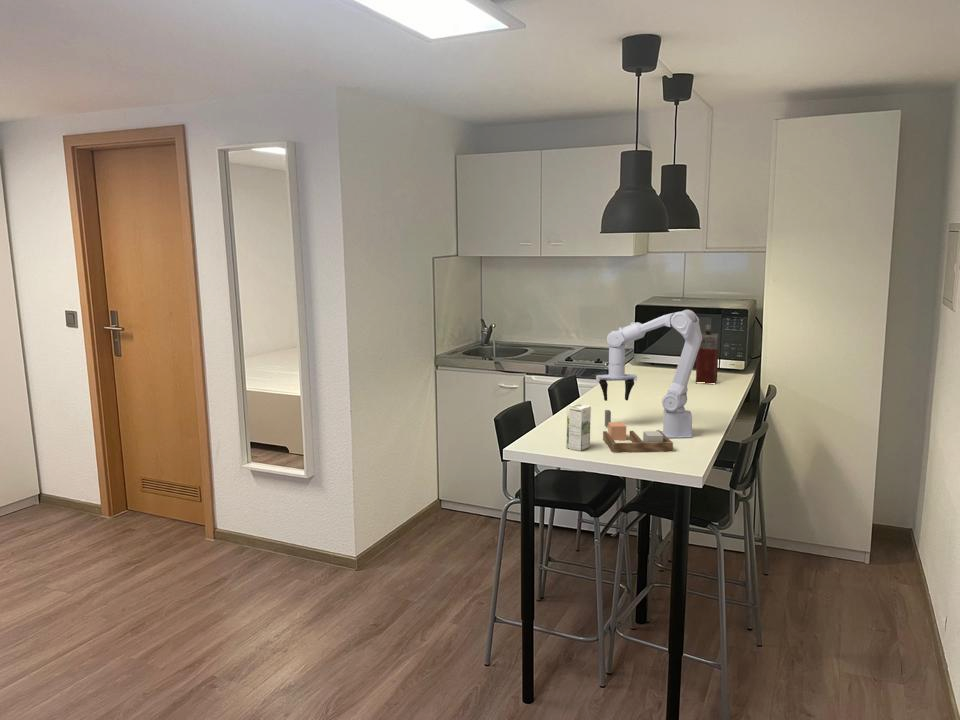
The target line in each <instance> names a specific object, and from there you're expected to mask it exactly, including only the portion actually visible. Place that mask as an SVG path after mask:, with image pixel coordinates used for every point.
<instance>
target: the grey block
mask: <svg viewBox="0 0 960 720" xmlns="http://www.w3.org/2000/svg"><path fill="white" fill-rule="evenodd" d="M642 433H643V434H642V435H643V436H642V438H643V439H642V441H643V442H663V435H662V434H661V433H660V432H659V431H656V430H649V431H648V430H644V431H643V432H642Z"/></svg>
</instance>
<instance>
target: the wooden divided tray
mask: <svg viewBox="0 0 960 720" xmlns="http://www.w3.org/2000/svg"><path fill="white" fill-rule="evenodd" d="M655 431H659V432H660V433H661V434H662V435H663V442H643V439H641V438H640V436H639V435H638V434H637V433H636V432H635V431H634V430H629V441H630V442H616V441H614V440H613V439H612V437H611V436H610V435H609V434H608V430H607V431H606V430H604V431H602V440H603V442H604V441H605V442H604V443H605V444H606V446H607V445H608V446H607V448H608V449H609V450H610V449H611V450H610V451H611V453H612V452H628V453H660V452H659V451H673V449H674V448H673V447H674V442H673V441H672V440H670V438H667V437H666V436H665V435H664V434H663V433H662V432H661V431H662V430H660V429H657V430H655ZM631 441H632V442H631Z"/></svg>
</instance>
